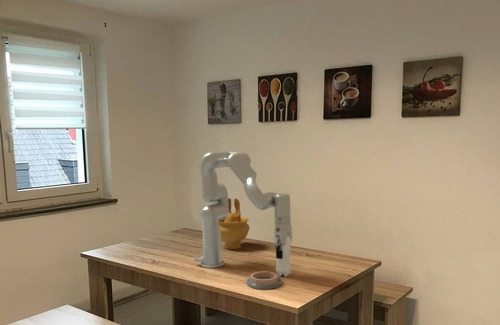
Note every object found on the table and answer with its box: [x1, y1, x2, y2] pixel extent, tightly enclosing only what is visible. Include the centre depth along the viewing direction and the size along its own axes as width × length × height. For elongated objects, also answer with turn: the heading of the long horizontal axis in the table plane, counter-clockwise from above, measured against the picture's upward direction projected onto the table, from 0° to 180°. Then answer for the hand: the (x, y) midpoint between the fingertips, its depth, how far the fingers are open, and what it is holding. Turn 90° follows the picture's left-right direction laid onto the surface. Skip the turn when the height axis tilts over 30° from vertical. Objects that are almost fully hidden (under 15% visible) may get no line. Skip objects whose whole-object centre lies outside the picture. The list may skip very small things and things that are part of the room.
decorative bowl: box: [218, 197, 250, 250], centre depth 246 cm, size 21×21×30 cm
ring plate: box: [246, 270, 283, 291], centre depth 181 cm, size 16×16×4 cm
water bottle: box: [275, 236, 292, 278], centre depth 191 cm, size 7×7×25 cm
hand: (283, 256), depth 191 cm, fingers closed on water bottle, 7 cm apart
